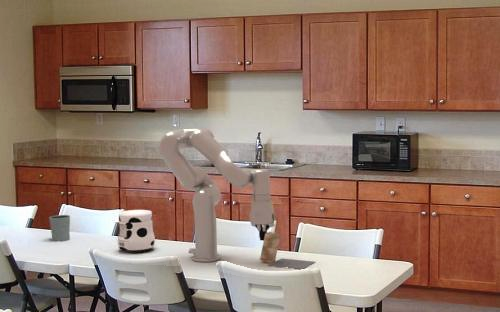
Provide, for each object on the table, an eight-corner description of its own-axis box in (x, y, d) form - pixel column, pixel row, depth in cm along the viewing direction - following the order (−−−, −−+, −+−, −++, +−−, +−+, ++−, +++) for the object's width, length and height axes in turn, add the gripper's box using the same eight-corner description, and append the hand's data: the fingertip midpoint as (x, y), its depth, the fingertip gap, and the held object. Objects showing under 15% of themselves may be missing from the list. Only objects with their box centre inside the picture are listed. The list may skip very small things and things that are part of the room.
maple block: (259, 259, 325) (265, 233, 323) (264, 257, 330) (270, 231, 327) (269, 263, 323) (275, 237, 321) (275, 261, 327) (280, 235, 325)
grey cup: (65, 242, 377) (63, 218, 376) (46, 241, 379) (45, 217, 378) (74, 238, 387) (73, 214, 386) (56, 237, 389) (55, 214, 388)
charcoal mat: (267, 266, 319) (267, 265, 319) (281, 259, 331) (281, 258, 331) (302, 269, 311) (302, 268, 311) (315, 262, 324) (315, 261, 324)
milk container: (158, 246, 363) (157, 209, 361) (150, 254, 346) (149, 215, 344) (123, 246, 364) (122, 209, 363) (113, 254, 347) (112, 215, 346)
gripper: (242, 198, 325) (243, 240, 327) (273, 199, 318) (275, 242, 320) (250, 196, 332) (251, 237, 333) (281, 197, 325) (282, 239, 326)
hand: (263, 239), depth 327 cm, fingers closed
